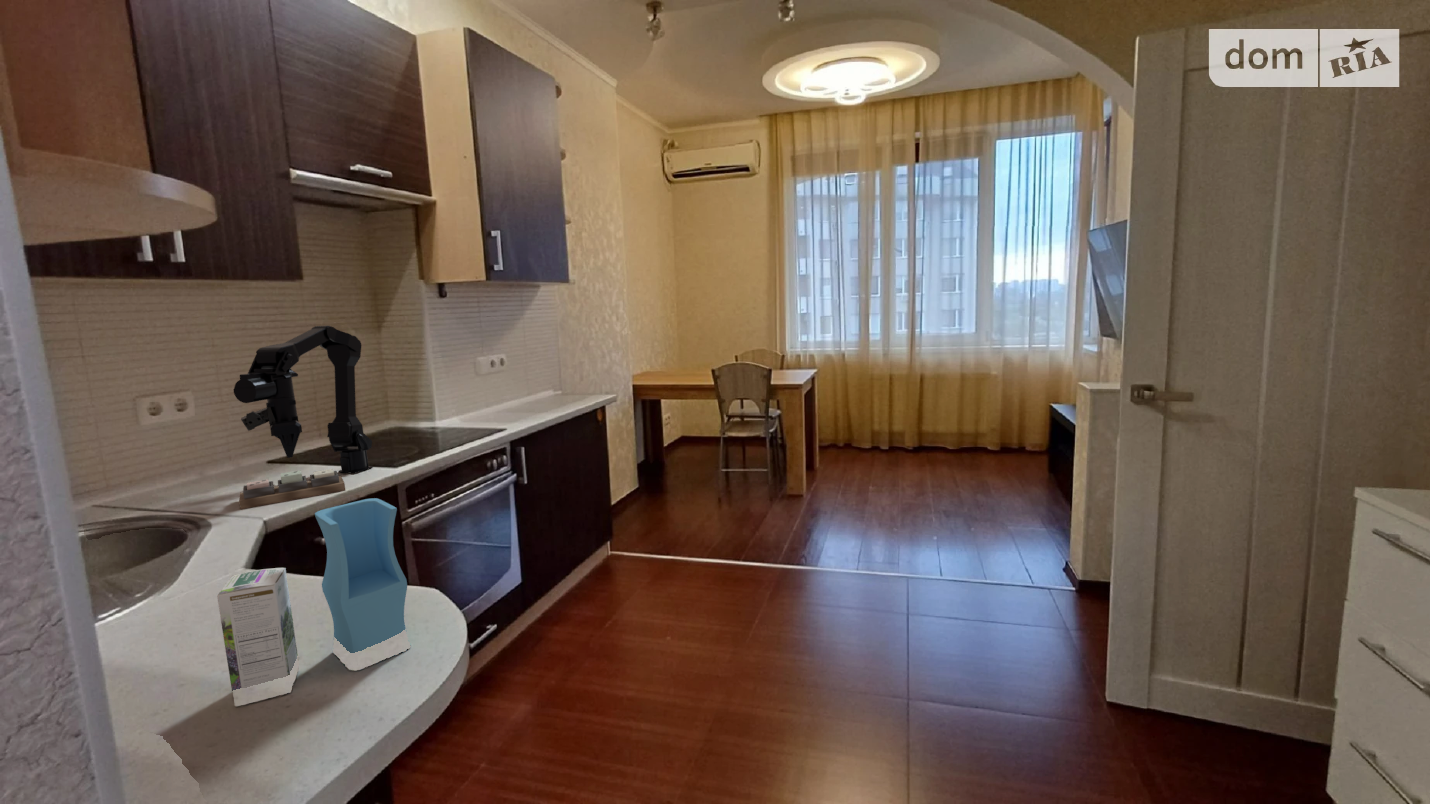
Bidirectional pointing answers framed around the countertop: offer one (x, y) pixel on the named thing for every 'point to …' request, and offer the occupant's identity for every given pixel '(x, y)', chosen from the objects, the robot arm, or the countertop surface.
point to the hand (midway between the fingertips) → (289, 457)
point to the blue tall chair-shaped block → (362, 573)
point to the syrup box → (257, 627)
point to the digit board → (290, 491)
